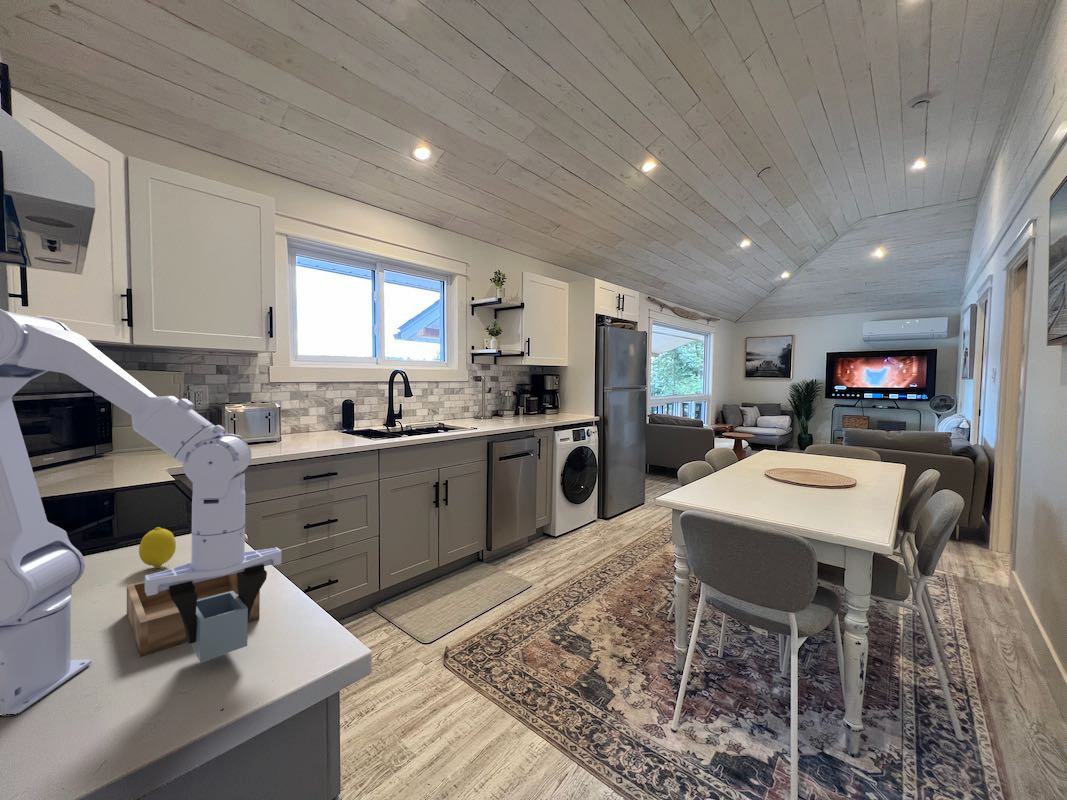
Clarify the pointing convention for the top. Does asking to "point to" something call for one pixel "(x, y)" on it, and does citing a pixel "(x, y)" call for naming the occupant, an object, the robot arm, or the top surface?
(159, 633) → the big crate
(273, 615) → the top surface
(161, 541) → the lemon
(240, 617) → the small crate
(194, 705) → the top surface
